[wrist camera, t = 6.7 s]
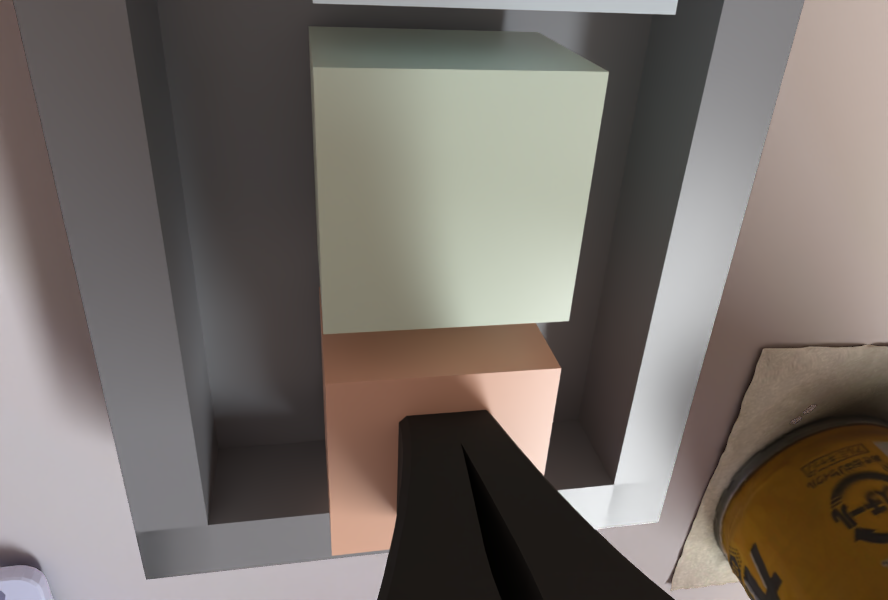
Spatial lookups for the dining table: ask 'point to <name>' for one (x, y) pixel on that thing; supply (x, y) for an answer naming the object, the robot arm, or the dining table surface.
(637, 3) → the pale blue cube
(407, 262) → the sage key
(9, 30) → the dining table surface
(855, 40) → the dining table surface
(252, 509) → the keypad base
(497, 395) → the salmon orange cube
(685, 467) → the dining table surface
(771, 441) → the condiment
